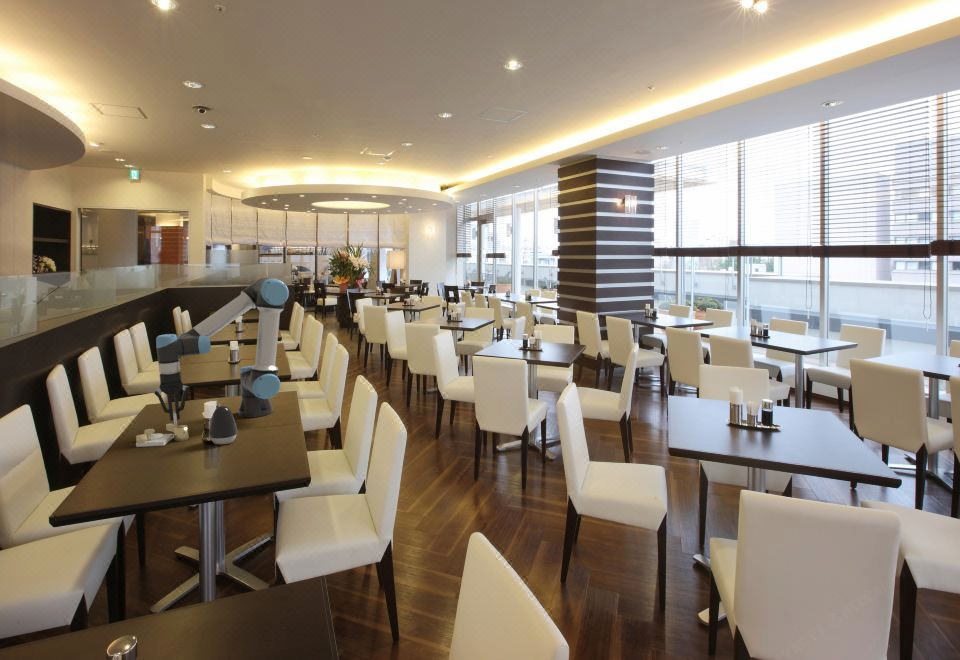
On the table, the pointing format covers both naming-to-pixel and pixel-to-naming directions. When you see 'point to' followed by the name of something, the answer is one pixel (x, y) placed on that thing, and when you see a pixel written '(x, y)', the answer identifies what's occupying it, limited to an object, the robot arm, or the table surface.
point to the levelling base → (152, 438)
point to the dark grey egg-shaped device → (222, 426)
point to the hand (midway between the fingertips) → (175, 427)
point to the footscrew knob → (178, 431)
